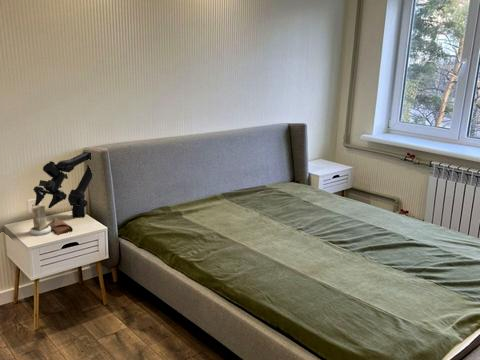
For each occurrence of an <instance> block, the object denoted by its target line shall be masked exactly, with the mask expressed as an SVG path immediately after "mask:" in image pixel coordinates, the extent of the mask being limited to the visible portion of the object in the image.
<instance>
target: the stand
mask: <svg viewBox="0 0 480 360" xmlns="http://www.w3.org/2000/svg"><path fill="white" fill-rule="evenodd" d="M33 227H34V226H33ZM33 227H31V228H30V229H29V230H30V234H31V236H44V235H49V234H50V233H51V232H52V230H51V227H50V226H48V228H46V229H44V230H41V231H37V230H32V228H33Z"/></svg>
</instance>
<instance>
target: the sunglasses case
mask: <svg viewBox="0 0 480 360" xmlns="http://www.w3.org/2000/svg"><path fill="white" fill-rule="evenodd" d="M46 225H48V226H50V227H51V232H53V233H55V234H56V235H57V236H60V235H65V234H68V232H69V233H72V232H73V230H74V229H73V228H72V226H71V225H68V224H67V223H66V222H64V221H63V220H61V219H59V218H58V217H55V218H54V219H53V220H52V221H50V222H49V223H46Z"/></svg>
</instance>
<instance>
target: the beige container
mask: <svg viewBox="0 0 480 360" xmlns="http://www.w3.org/2000/svg"><path fill="white" fill-rule="evenodd" d="M31 211H32V213H31V214H32V222H33V223H32V224H33V228H32V227H31V228H32V230H37V231H41V230H44V229H46V228H48V225H47V219H46V218H47V217H46V207H45V205H39V204H38V205H37V206H36V205H35V206H33V207H31Z"/></svg>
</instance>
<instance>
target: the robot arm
mask: <svg viewBox="0 0 480 360" xmlns="http://www.w3.org/2000/svg"><path fill="white" fill-rule="evenodd" d="M91 153H92V152H89V151H82V152H81V153H80V154H77V155H76V156H73V157H72V158H70V159H64V160H60V161H58V162H57V163H55V162H54V161H51V160H50V161H48V162H47V163H46V164H45V165H43V166H42V171H43V172H44V173H45V174H46V175H47V176H48V177H50V178H51V179H48V180H42V179H40V180H39V184H38V186H37V185H36V186H34V188H33V189H32V190H33V192H34V193H35V194H36V196H35V201H34V202H35V204H34V205H35V206H38V205H39V204H40V203H41V202H42V201H43V200H44V198H45V196H47V195H52V198H51V201H50V203H49V204H48V209H51V208H52V207H54V206H55V205H57V204H58V203H60V202H62V201H65V200H66V199H67V201H68V203H69V205H70V206H69V207H72V208H71V214H72V218H85V216H86V214H87V213H86V207H87V206H88V201H87V200H86V199H85V198H86V190H87V188H88V186H89V184H90V182H91V181H92V179H93V177H92V173H91V170H90V168H89V166H88V165H87V164H86V170H85V172H84V173H83V175H82V178H81V179H80V181H79V183H78V185H77V187H76V188H75V189H71V190H70V191H69V194H66V193H65V192H64V191H63V190H62V188H63V186H62V184H63V182H64V181H65V179H66V180H68V179H69V176H68V173H71V172H72V171H73V170H75V167H77V166H79V165H81V164H82V163H84V162H87V161H86V160H88V159H90V160H91ZM60 189H61V190H60ZM67 195H68V196H67Z"/></svg>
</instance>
